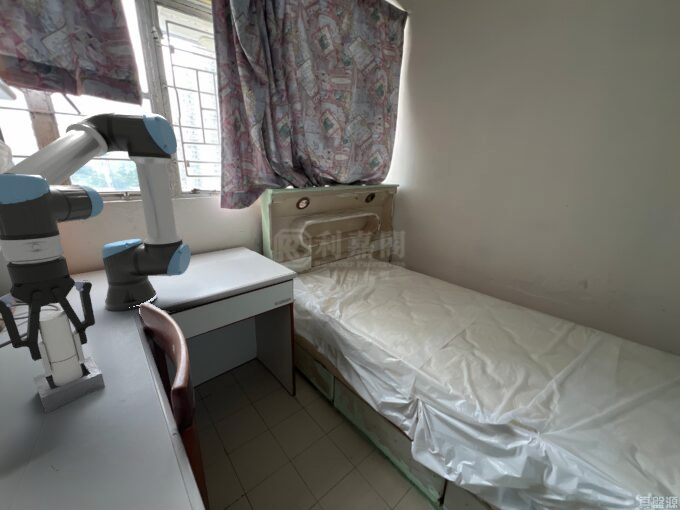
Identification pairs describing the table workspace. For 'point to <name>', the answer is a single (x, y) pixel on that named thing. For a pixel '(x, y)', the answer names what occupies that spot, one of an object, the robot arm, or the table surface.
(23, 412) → the table surface
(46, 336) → the tube
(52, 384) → the gray square frame
